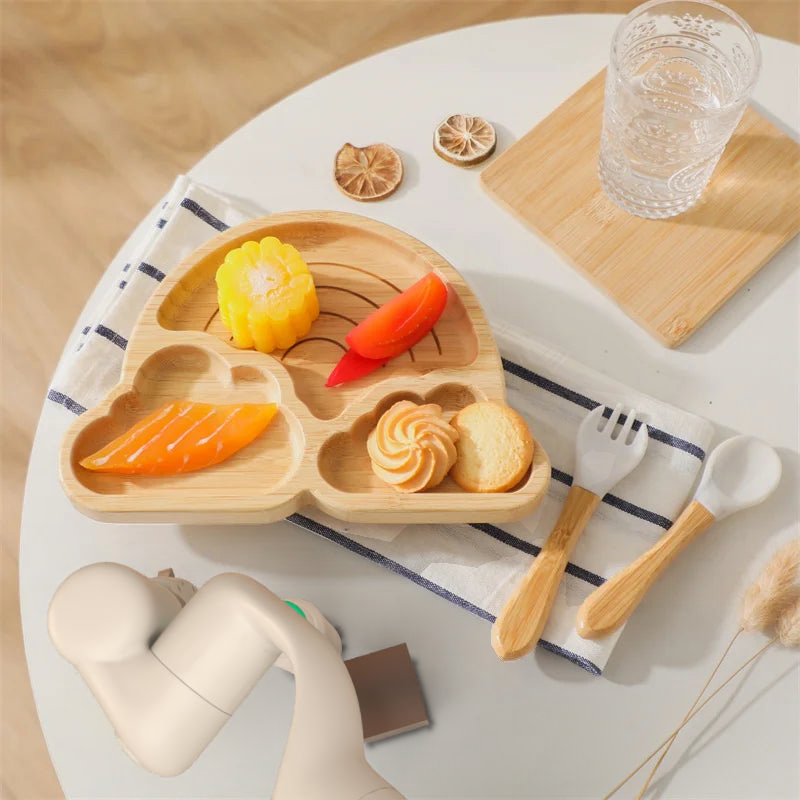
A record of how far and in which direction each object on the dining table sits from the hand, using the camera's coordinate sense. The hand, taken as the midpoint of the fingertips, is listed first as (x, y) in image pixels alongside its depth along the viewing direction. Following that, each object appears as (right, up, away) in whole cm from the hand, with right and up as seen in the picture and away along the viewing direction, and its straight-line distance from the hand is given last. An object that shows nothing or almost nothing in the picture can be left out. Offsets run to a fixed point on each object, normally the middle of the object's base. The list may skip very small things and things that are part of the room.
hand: (197, 650), depth 91 cm
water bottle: (+10, -5, +19) cm, 22 cm away
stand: (+19, -11, +16) cm, 27 cm away
